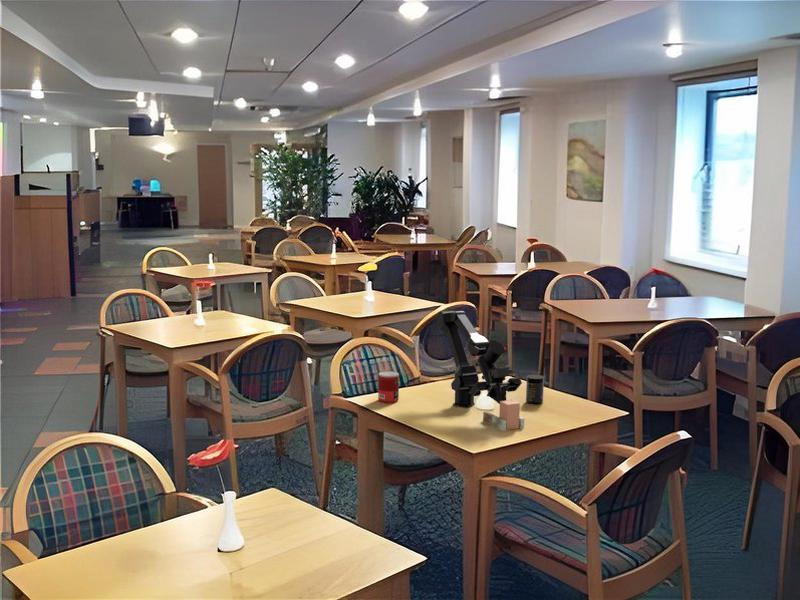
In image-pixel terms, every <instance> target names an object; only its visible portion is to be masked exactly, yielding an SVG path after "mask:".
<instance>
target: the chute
mask: <svg viewBox="0 0 800 600" xmlns="http://www.w3.org/2000/svg"><path fill="white" fill-rule="evenodd" d="M482 415H483V416H482V421H483V422H484V423H486V424H489V425H490V426H492V427H494V428H496V429H498V430H500V431H502V432H504V431H505V432H506V431H507V429H506V422H507V421H506V420H504V419H502V418H500V417H499V416H498V415H495V414H493V413H491V412H489V411H487V410H485V411H483V413H482ZM519 427H520V429H525V417H523V416H521V415H519Z"/></svg>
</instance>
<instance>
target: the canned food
mask: <svg viewBox="0 0 800 600" xmlns="http://www.w3.org/2000/svg"><path fill="white" fill-rule="evenodd" d="M377 379H378V380H377V381H378V382H377V384H378V389H377V392H378V402H380V403H382V404H395V403H398V401H399V399H400V398H399V391H400V389H399V388H400V387H399V386H400V385H399V384H400V373H399V372H397V371H387V370H386V371H381V372H379V373H378V377H377Z"/></svg>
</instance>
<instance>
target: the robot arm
mask: <svg viewBox="0 0 800 600" xmlns="http://www.w3.org/2000/svg"><path fill="white" fill-rule="evenodd" d="M435 320H436V322H437V324H438V327H439V329H440V330H441V331H442V332H443V333H444V334H445V335H446V337H447V341H448V345H449V348H450V350H451V351H450V352H451V355H452V357H453V360H454V364H455V367H456V368H455V372H454V379H453V380H452V382H451V383H450V387H451V390H453V391H454V403H452V406H455V407H456V406H457V407H461V408H467V409H468V408H469V407H472V406H474V405H475V404H476V403H475V397H480V395H481V394H482V391H484V392H485V391H487V394H486V397H489V398H491V399H492V400H493V401H495V402H496V403H497V404H498V405H500V401H505V400H507V393H511V392H516V391H517V390H518V389H519V387H520V386H521V385H522V384H523V382H522V379H521V378H520V377H518V376H517V377H516V376H515V377H511V378H509V379H508V380H507V381H506V382H504V381H505V380H506V378H507V377H510V375H512V374H513V373H514V371H513V368H512V365H511V364H508V365H504V367H497V365H496V364H497V362H498V361H500V359H501V357H503V355H504V353H505V352H506V348H505V346H504V345H503V344H502V343H501V342H498V341H497V340H496V339H490V341H489V340H488V339H487V338H486V337H485V336H483V335H481V334H479V332H477V330H476V329H475V327H474V325H473V324H472V323H471V321H470V320H469V318H468V317H467V314H466V312H465V311H464V310H443V311H442V310H441V311H439V312H438V314H437V315H436V319H435ZM459 331H460V332H459ZM460 333H461V334H462V336H463V337H464V338H465V340H466V342H467V345H466V347H467V348H466V349H468V352H469V354H470V355H471V356H472V357H478V358H477V359H476V362H475V364H471V363H470V362H469V360H468V357H467V354H466V351H465V347H464V345H463V342H462V338H461V335H460ZM476 367H479V369H480V373H481V374H482V376H481V380H484V381H480V378H479V373H478V371H477V368H476Z"/></svg>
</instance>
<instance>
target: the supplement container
mask: <svg viewBox="0 0 800 600" xmlns="http://www.w3.org/2000/svg"><path fill="white" fill-rule="evenodd" d="M544 383H545V376H543V375H539V374H528V375H526V385H525V386H526V387H525V388H526V390H525V391H526V393H525V402H526V403H527V404H528V405H532V404H533V405H534V406H535V405H542V404H543V403H544V389H545V388H544V387H545V385H544Z"/></svg>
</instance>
